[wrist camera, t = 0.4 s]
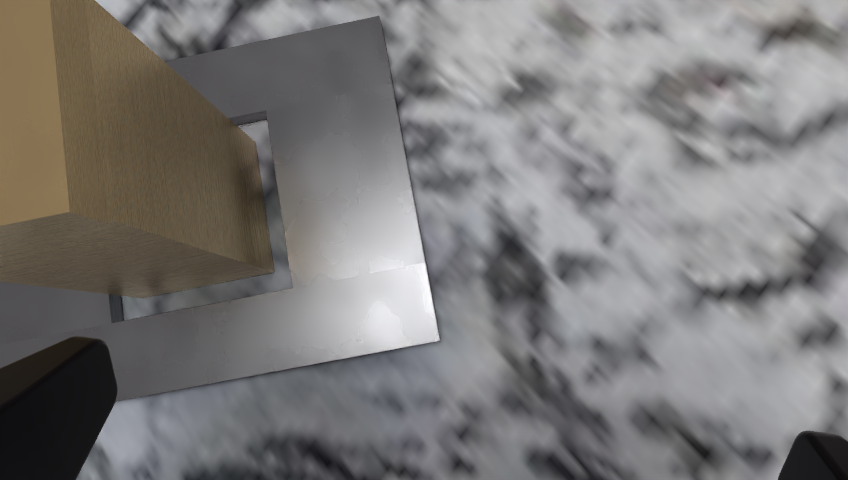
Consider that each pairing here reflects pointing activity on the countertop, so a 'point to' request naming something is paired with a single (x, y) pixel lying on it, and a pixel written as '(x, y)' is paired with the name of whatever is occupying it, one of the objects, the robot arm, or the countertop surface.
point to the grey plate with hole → (303, 227)
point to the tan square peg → (116, 163)
